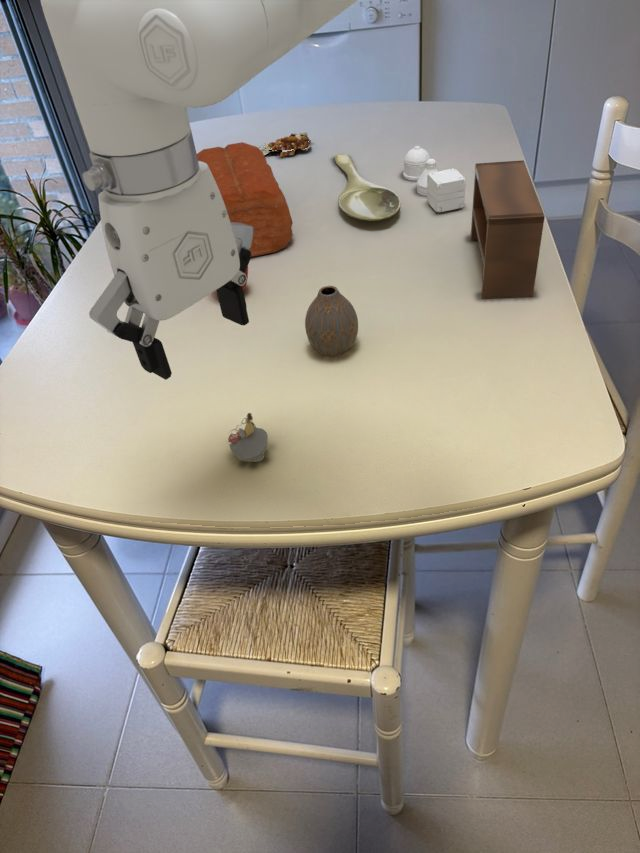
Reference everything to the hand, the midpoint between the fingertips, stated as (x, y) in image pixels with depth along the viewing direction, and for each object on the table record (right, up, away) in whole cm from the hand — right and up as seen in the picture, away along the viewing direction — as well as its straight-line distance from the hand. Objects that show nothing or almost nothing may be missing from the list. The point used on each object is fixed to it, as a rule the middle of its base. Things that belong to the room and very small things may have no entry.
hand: (199, 345), depth 61 cm
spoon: (+19, +37, +61) cm, 74 cm away
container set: (+32, +36, +58) cm, 75 cm away
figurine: (+4, -11, +13) cm, 18 cm away
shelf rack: (+38, +17, +37) cm, 56 cm away
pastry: (+4, +52, +79) cm, 95 cm away
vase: (+13, +3, +26) cm, 30 cm away
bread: (-3, +29, +56) cm, 63 cm away
